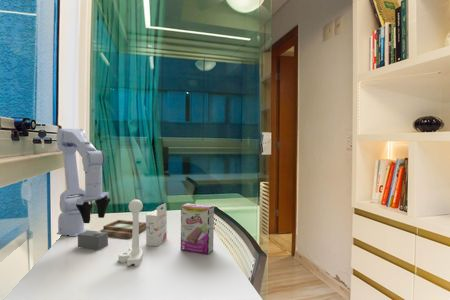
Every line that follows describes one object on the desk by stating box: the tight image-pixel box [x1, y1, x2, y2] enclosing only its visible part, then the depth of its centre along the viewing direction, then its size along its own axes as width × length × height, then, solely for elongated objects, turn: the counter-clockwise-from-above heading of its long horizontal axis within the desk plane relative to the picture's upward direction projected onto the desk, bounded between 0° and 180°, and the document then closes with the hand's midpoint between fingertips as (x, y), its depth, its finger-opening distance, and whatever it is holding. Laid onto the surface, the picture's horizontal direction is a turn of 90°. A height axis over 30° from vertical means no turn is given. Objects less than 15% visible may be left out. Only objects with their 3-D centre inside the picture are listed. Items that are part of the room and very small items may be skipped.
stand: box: [99, 219, 146, 240], centre depth 122 cm, size 14×14×3 cm
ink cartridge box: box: [145, 202, 168, 247], centre depth 110 cm, size 9×5×15 cm, turn 168°
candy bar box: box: [180, 202, 215, 255], centre depth 102 cm, size 11×5×16 cm, turn 71°
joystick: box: [117, 198, 144, 267], centre depth 93 cm, size 11×8×20 cm
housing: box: [77, 229, 109, 251], centre depth 105 cm, size 9×5×6 cm, turn 75°
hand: (94, 220), depth 105 cm, fingers open, 7 cm apart
